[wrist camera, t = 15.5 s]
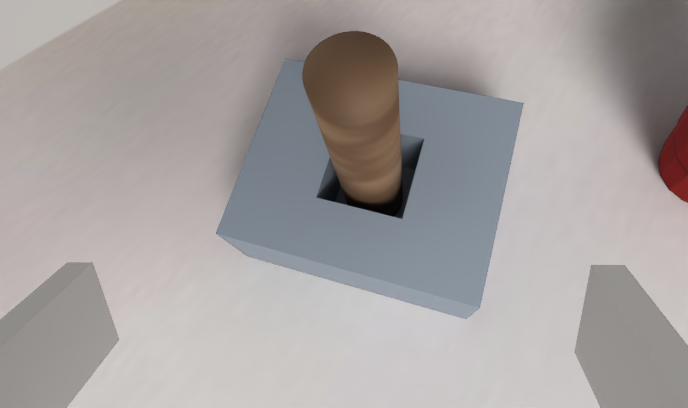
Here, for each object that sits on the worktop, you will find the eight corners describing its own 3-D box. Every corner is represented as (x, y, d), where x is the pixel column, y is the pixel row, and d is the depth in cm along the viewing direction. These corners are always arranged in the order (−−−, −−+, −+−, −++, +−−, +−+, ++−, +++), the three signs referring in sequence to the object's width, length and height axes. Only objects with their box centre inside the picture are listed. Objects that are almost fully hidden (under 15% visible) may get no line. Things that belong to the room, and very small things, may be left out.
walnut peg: (340, 215, 33) (289, 102, 19) (356, 165, 34) (319, 24, 20) (394, 229, 32) (382, 121, 18) (409, 178, 34) (408, 39, 20)
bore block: (246, 255, 34) (215, 233, 29) (303, 104, 38) (285, 58, 32) (466, 319, 31) (479, 307, 25) (504, 146, 35) (523, 102, 29)
